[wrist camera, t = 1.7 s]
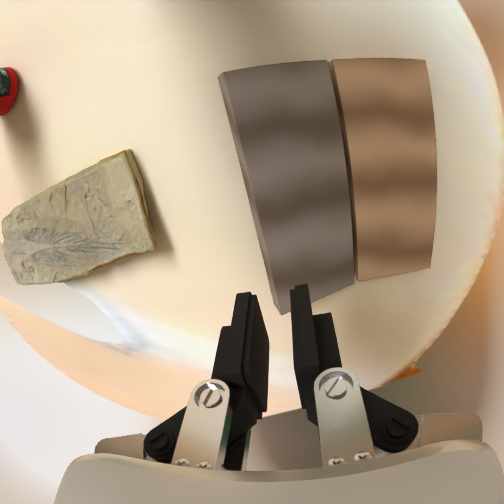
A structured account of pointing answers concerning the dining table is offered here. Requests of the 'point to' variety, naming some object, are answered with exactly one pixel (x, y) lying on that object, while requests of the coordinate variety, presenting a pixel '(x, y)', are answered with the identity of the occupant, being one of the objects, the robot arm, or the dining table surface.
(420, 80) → the walnut board
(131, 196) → the stone slab
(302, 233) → the smoked oak plank
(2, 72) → the beverage can
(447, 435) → the robot arm
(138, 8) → the dining table surface
